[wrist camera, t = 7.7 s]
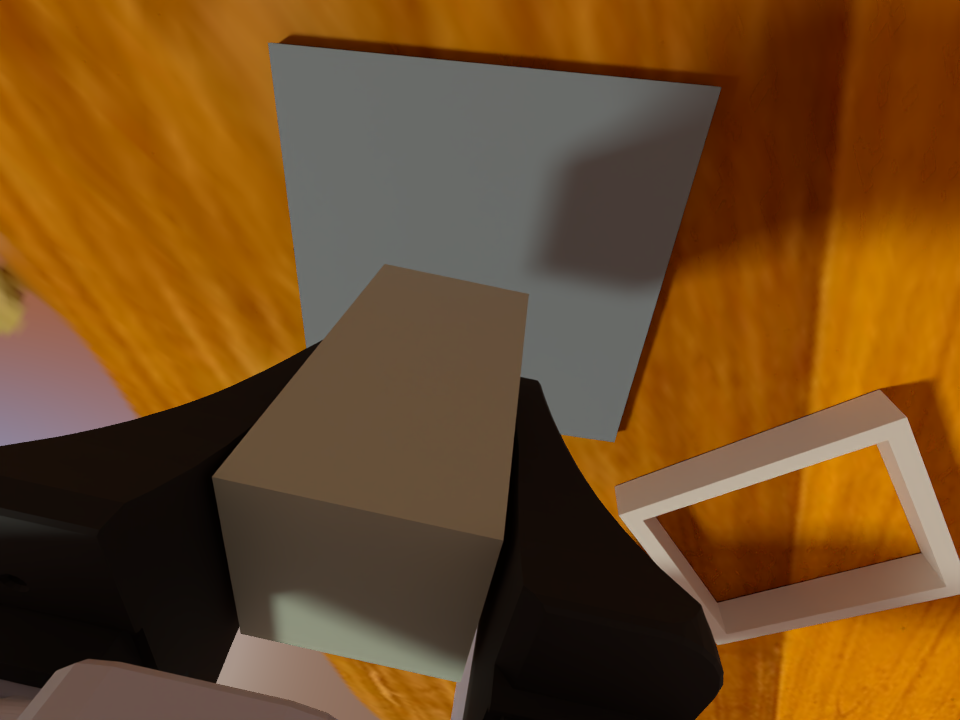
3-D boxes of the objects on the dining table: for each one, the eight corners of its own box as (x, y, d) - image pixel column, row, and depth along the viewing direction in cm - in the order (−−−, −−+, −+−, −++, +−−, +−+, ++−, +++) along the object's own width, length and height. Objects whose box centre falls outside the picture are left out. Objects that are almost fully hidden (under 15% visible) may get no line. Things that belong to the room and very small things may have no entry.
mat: (612, 433, 23) (614, 442, 22) (318, 390, 23) (312, 398, 23) (715, 86, 15) (721, 87, 15) (277, 43, 16) (267, 42, 15)
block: (528, 293, 13) (503, 540, 7) (500, 408, 15) (460, 682, 9) (384, 263, 13) (211, 476, 7) (376, 381, 15) (240, 633, 9)
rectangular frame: (944, 557, 24) (971, 591, 22) (708, 613, 28) (717, 645, 27) (879, 389, 20) (906, 417, 18) (614, 486, 24) (618, 515, 23)
